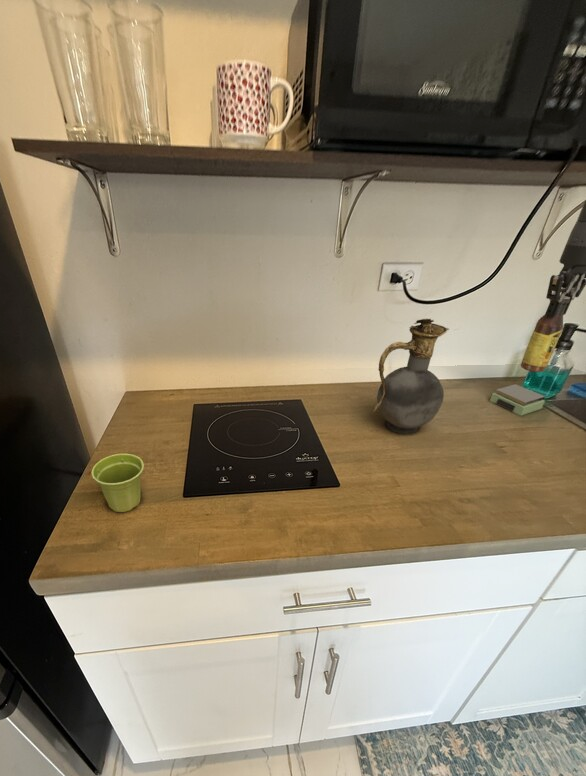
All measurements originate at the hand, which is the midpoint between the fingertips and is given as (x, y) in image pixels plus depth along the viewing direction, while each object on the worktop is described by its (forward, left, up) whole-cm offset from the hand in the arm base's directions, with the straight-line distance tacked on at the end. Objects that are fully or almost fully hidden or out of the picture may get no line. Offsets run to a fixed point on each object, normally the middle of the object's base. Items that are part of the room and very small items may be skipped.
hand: (555, 314), depth 102 cm
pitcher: (+43, -6, -28) cm, 51 cm away
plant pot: (+113, -7, -28) cm, 117 cm away
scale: (0, -1, -28) cm, 28 cm away
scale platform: (0, -1, -24) cm, 24 cm away
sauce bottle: (0, 0, -15) cm, 15 cm away
